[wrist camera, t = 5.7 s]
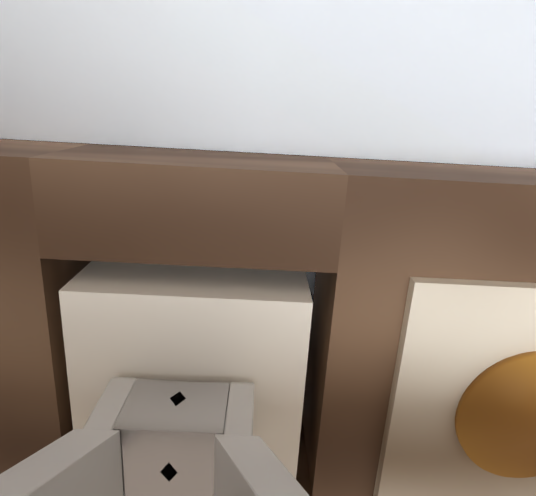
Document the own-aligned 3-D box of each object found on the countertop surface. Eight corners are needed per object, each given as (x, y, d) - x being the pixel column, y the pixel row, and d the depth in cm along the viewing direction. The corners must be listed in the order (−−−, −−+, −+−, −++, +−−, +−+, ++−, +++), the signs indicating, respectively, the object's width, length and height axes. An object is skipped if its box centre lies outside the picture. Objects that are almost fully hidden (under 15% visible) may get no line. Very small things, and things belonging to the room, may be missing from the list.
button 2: (110, 244, 11) (58, 290, 8) (300, 253, 11) (312, 302, 9) (120, 403, 13) (79, 488, 10) (287, 410, 13) (294, 496, 10)
